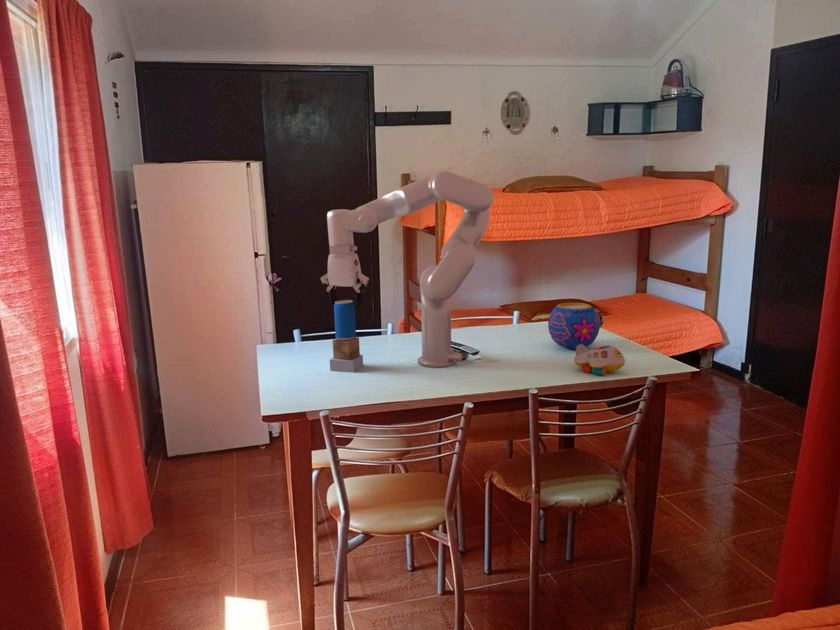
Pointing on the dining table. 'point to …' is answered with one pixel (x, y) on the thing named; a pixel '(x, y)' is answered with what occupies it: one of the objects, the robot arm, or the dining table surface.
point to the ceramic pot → (574, 324)
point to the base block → (346, 364)
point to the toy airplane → (599, 359)
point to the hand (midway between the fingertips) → (346, 304)
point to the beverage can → (344, 319)
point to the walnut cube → (346, 348)
